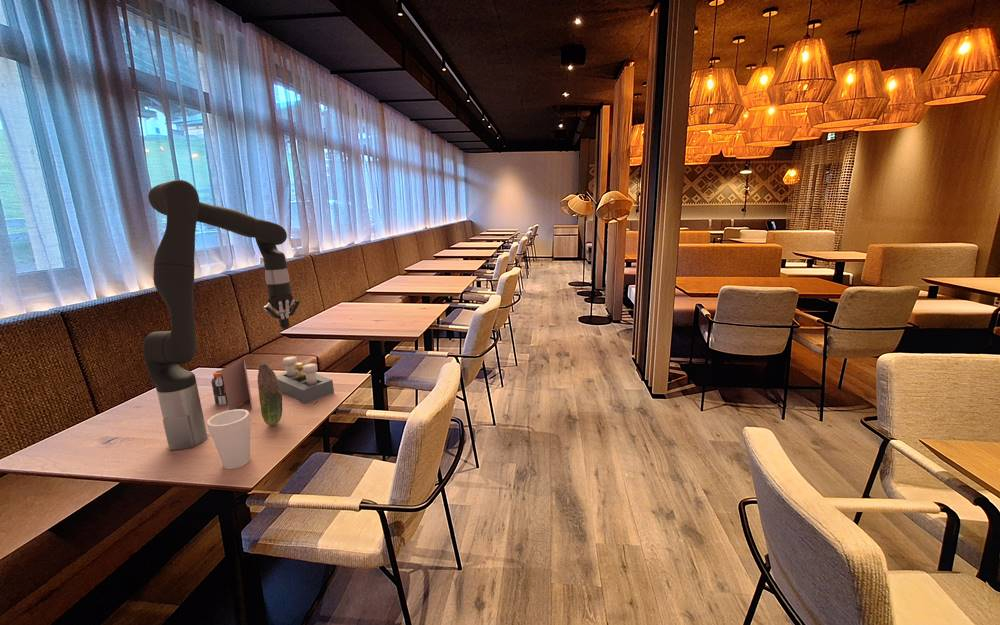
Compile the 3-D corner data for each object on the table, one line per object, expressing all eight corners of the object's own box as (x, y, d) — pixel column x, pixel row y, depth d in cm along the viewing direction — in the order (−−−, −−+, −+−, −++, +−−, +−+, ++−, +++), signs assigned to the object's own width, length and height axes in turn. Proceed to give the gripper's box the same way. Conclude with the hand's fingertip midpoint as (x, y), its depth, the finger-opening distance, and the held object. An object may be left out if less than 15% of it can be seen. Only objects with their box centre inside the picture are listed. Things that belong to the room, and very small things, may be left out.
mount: (334, 392, 161) (332, 379, 160) (305, 403, 152) (303, 390, 151) (302, 380, 174) (300, 367, 173) (274, 389, 166) (272, 376, 165)
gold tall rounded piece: (309, 379, 163) (307, 362, 161) (300, 383, 160) (297, 365, 158) (304, 377, 165) (301, 360, 163) (294, 380, 162) (292, 363, 161)
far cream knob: (301, 375, 167) (298, 357, 165) (289, 379, 163) (286, 361, 162) (295, 373, 170) (292, 355, 168) (283, 377, 166) (280, 359, 165)
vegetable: (262, 422, 140) (252, 362, 135) (284, 417, 143) (275, 358, 138) (264, 430, 135) (253, 368, 130) (287, 424, 138) (277, 363, 133)
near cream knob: (321, 383, 158) (319, 365, 157) (309, 388, 155) (307, 368, 153) (314, 381, 161) (312, 362, 160) (302, 385, 158) (300, 366, 156)
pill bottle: (228, 405, 153) (222, 374, 151) (211, 405, 154) (205, 374, 151) (238, 398, 159) (233, 368, 157) (222, 398, 159) (216, 368, 157)
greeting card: (249, 397, 159) (241, 357, 156) (268, 397, 159) (261, 357, 155) (227, 412, 148) (218, 369, 145) (248, 412, 148) (240, 369, 144)
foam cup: (263, 452, 123) (255, 408, 120) (246, 471, 114) (237, 425, 111) (228, 453, 122) (220, 410, 119) (208, 473, 113) (198, 426, 110)
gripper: (263, 285, 151) (271, 334, 155) (301, 279, 161) (307, 325, 165) (253, 283, 155) (261, 331, 159) (290, 278, 165) (297, 323, 170)
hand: (285, 328), depth 162 cm, fingers closed
